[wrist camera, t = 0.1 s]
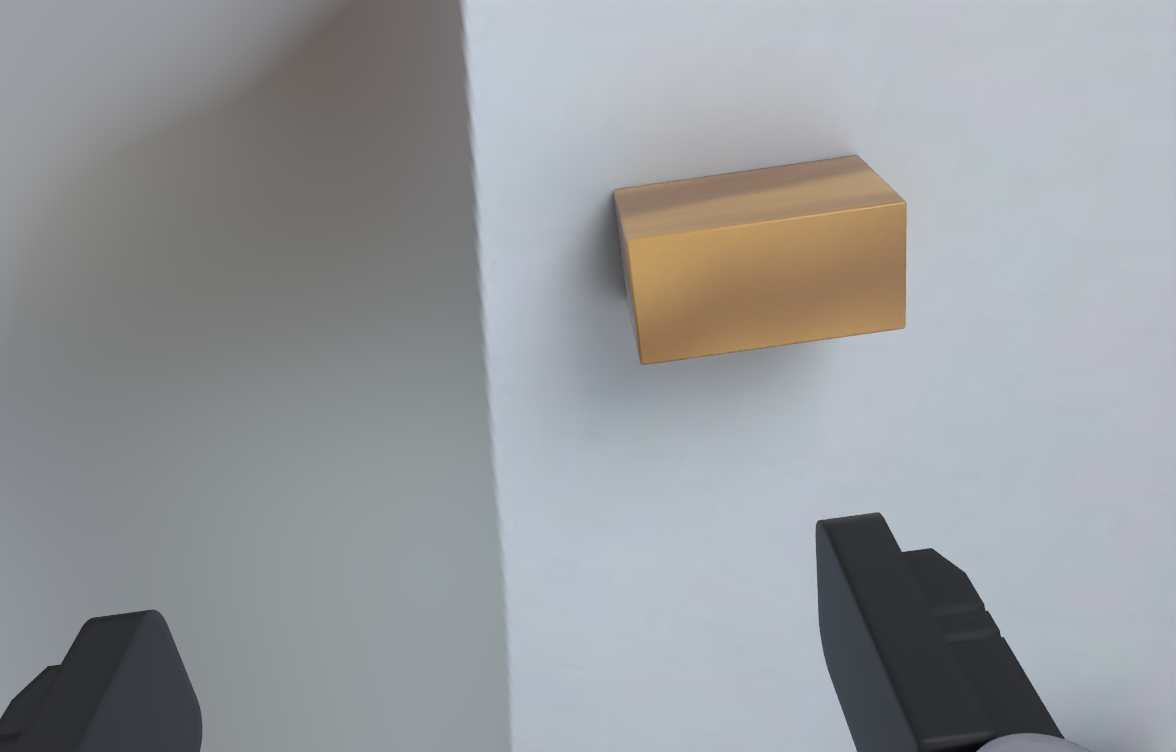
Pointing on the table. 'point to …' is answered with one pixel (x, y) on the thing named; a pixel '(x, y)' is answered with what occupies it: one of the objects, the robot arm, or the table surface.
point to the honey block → (762, 258)
